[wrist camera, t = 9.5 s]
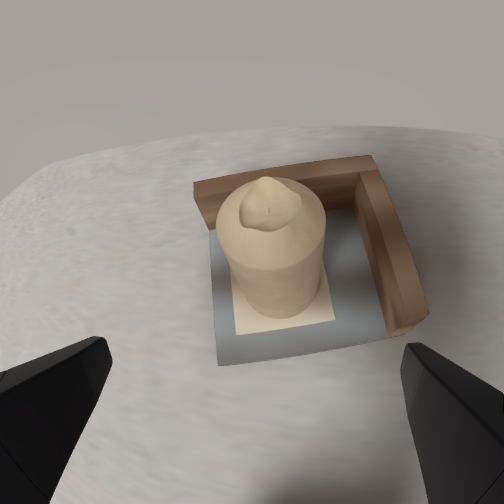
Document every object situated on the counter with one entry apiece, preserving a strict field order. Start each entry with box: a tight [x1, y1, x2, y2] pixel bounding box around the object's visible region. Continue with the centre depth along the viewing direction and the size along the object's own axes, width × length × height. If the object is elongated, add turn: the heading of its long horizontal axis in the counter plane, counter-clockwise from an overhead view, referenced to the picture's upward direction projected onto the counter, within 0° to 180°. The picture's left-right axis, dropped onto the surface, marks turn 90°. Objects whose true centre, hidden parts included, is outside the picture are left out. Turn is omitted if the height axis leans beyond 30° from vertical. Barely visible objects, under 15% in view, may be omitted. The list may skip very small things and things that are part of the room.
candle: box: [216, 176, 326, 319], centre depth 19 cm, size 6×6×10 cm
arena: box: [194, 155, 429, 366], centre depth 22 cm, size 12×14×5 cm
